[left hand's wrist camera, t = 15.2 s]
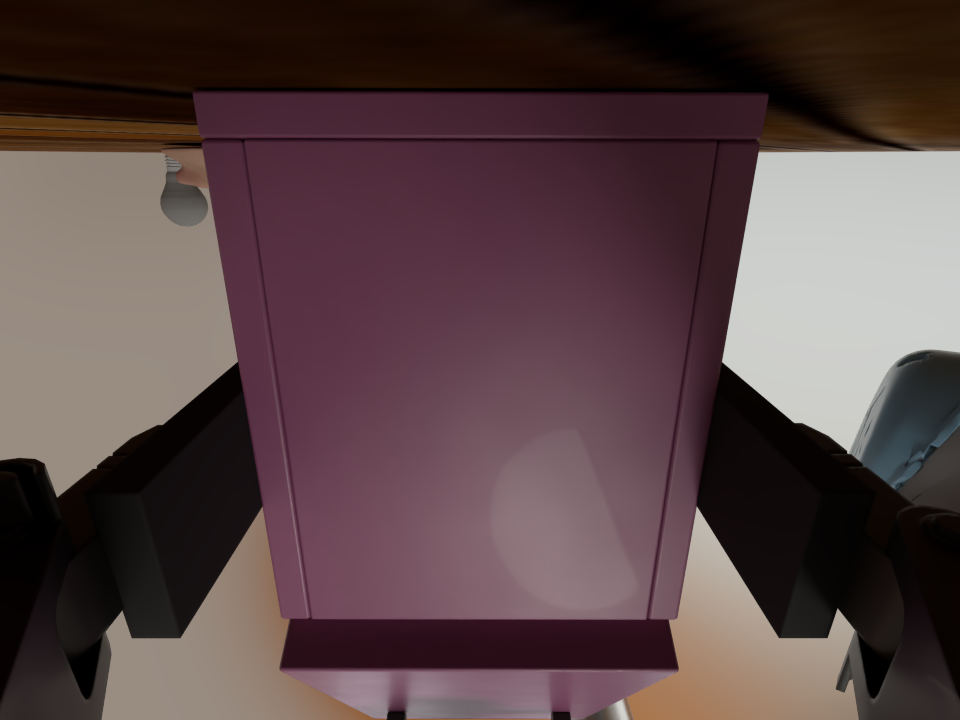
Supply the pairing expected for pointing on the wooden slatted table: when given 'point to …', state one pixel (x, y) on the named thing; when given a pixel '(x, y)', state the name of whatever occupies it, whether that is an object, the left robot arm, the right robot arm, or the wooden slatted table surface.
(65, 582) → the left robot arm
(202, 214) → the light bulb
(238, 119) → the chest
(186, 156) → the anatomical model
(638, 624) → the lid
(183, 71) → the wooden slatted table surface
